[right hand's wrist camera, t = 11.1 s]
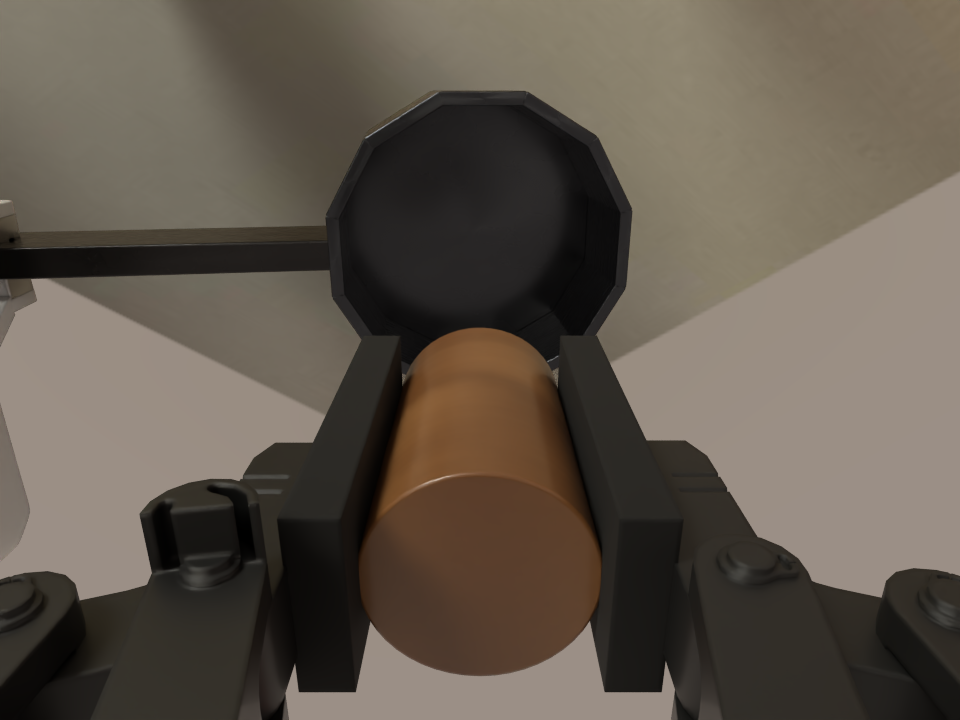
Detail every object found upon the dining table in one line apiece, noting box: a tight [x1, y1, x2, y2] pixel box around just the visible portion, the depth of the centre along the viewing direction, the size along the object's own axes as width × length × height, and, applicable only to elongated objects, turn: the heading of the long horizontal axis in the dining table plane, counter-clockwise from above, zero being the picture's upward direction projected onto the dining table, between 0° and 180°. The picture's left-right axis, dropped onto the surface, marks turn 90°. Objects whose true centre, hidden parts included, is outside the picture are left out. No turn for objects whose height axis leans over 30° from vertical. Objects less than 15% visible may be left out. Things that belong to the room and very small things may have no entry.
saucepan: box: [0, 91, 632, 375], centre depth 29 cm, size 28×12×5 cm, turn 90°
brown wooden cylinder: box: [358, 328, 602, 676], centre depth 12 cm, size 3×3×6 cm
